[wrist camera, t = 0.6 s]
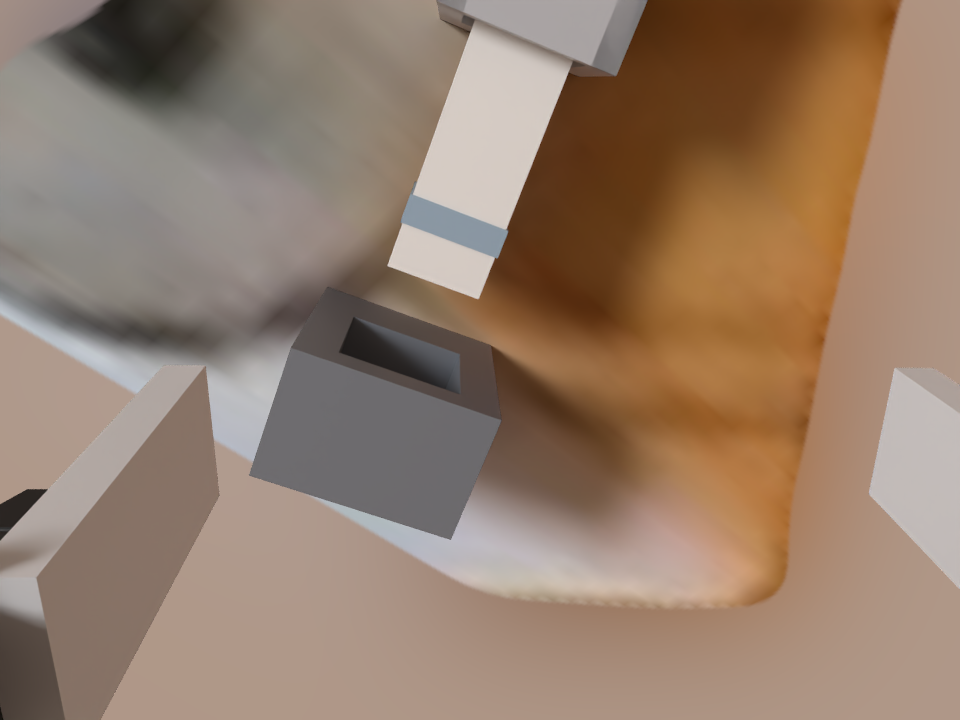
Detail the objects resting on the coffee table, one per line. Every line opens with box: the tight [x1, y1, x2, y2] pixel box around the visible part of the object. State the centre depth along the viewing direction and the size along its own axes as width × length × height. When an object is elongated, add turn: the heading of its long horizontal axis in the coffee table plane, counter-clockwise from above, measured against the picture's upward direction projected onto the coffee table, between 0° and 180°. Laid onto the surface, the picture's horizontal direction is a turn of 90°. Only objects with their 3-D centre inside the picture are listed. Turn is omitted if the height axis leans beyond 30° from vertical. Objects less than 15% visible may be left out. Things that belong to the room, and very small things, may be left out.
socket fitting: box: [249, 287, 502, 540], centre depth 39 cm, size 6×9×10 cm, turn 69°
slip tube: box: [388, 19, 573, 299], centre depth 33 cm, size 19×4×4 cm, turn 159°
